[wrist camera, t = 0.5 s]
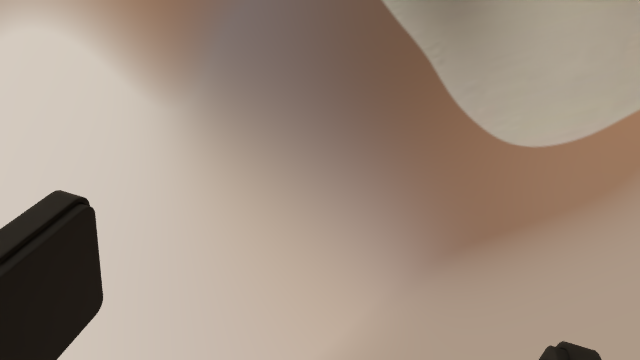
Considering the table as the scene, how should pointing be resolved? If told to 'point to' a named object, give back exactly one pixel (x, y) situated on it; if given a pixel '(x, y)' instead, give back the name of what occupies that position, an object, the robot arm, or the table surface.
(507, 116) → the table surface
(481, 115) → the table surface
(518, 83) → the table surface
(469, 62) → the table surface
